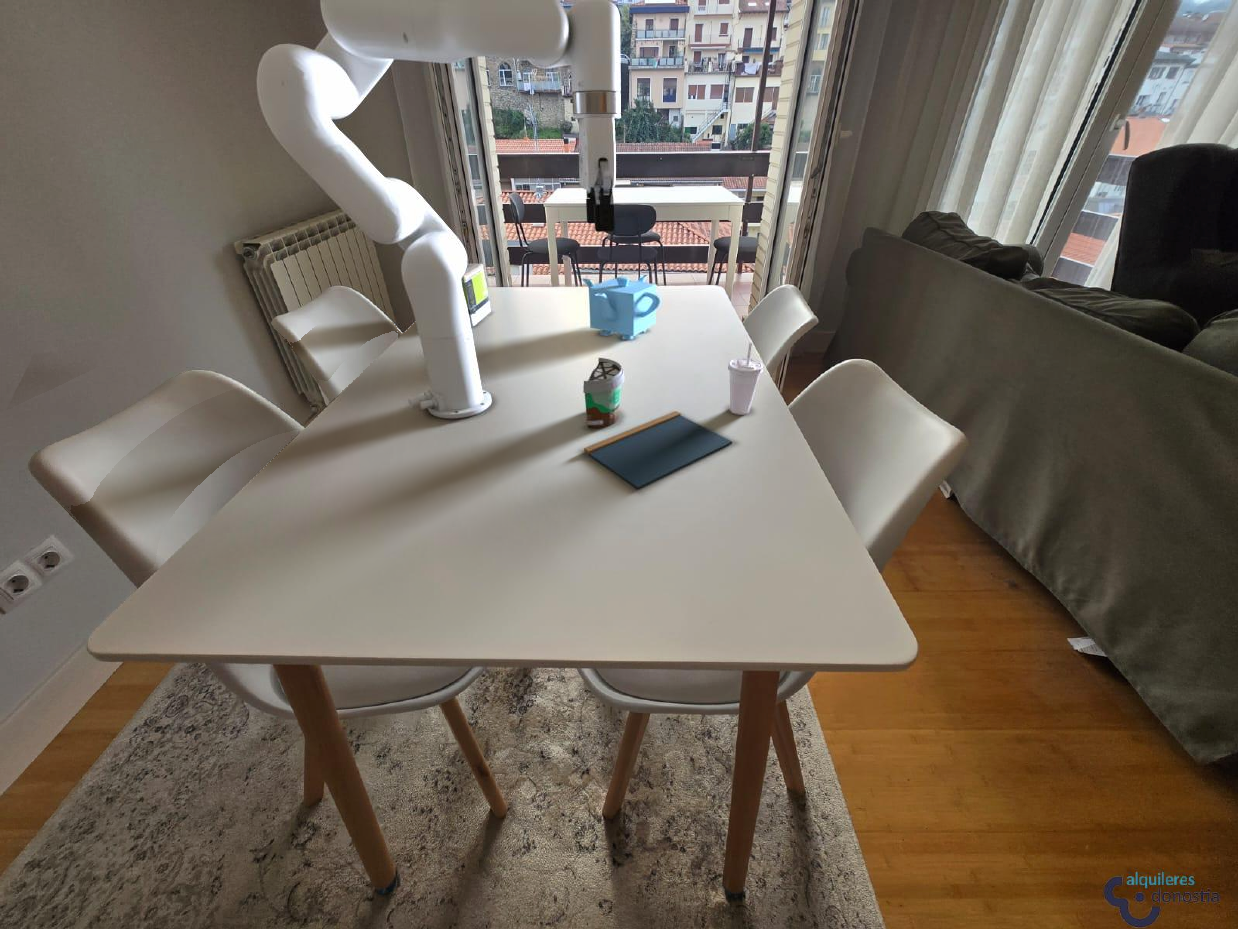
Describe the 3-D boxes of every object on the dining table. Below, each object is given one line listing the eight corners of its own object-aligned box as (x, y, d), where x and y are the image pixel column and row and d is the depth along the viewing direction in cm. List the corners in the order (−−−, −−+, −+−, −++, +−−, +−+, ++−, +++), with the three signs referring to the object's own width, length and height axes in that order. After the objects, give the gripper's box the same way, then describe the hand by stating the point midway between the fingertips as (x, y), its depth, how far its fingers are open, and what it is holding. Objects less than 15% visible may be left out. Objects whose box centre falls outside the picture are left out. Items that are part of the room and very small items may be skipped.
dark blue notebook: (637, 489, 78) (637, 485, 78) (584, 452, 88) (583, 448, 88) (732, 443, 90) (732, 439, 89) (675, 414, 99) (675, 410, 99)
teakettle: (664, 340, 135) (666, 283, 127) (595, 346, 132) (593, 288, 124) (645, 319, 151) (646, 267, 143) (583, 324, 148) (580, 271, 140)
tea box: (461, 311, 160) (452, 262, 152) (491, 312, 159) (484, 262, 150) (440, 326, 147) (429, 273, 139) (473, 327, 146) (464, 274, 138)
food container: (618, 435, 93) (617, 384, 87) (585, 432, 94) (582, 382, 88) (630, 405, 103) (630, 358, 97) (600, 403, 104) (599, 356, 99)
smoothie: (736, 420, 97) (746, 350, 89) (716, 407, 102) (723, 339, 94) (762, 413, 99) (774, 344, 92) (741, 400, 104) (750, 334, 97)
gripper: (567, 109, 86) (573, 221, 95) (579, 104, 72) (585, 235, 81) (610, 109, 87) (612, 219, 96) (631, 104, 73) (631, 233, 82)
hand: (600, 226), depth 89 cm, fingers open, 9 cm apart
